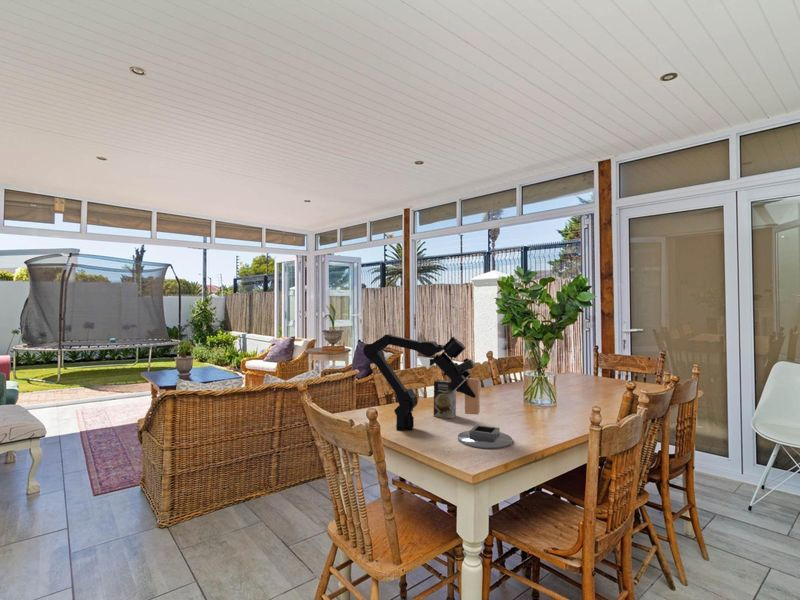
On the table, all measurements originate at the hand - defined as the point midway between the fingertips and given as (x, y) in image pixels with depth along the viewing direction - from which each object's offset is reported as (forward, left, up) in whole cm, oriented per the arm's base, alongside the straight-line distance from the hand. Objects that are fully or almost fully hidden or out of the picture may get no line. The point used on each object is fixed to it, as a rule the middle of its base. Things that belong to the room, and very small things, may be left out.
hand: (475, 395), depth 168 cm
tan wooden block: (-1, +1, -7) cm, 7 cm away
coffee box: (-7, +30, -16) cm, 34 cm away
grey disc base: (+2, -6, -15) cm, 17 cm away
